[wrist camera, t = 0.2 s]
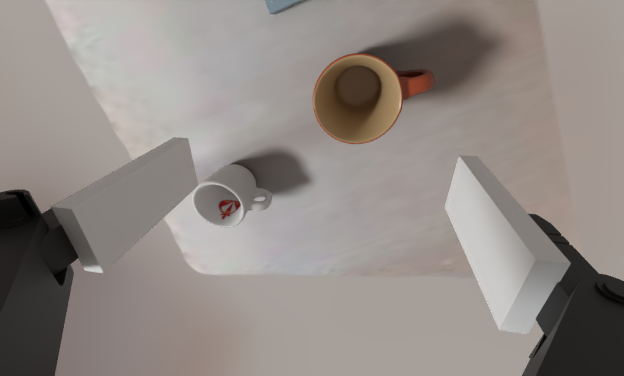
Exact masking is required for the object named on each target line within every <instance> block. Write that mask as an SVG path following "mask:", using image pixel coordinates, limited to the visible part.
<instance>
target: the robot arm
mask: <svg viewBox="0 0 624 376" xmlns="http://www.w3.org/2000/svg"><path fill="white" fill-rule="evenodd" d="M197 186H198V181H197V177H196V172H195V168H194V163H193V159H192V154H191V150H190V145H189V141H188V138H175V137H174V138H172V139H171V140H169V141H167V142H165V143H164V144H162V145H160V146H158V147H156V148H155V149H153V150H151V151H149V152H147V153H146V154H144V155H142V156H140V157H139V158H137V159H135V160H133V161H131V162H130V163H128V164H126V165H124V166H122V167H121V168H119V169H117V170H115V171H114V172H112V173H110V174H108V175H106V176H105V177H103V178H101V179H99V180H98V181H96V182H94V183H92V184H90V185H89V186H87V187H85V188H83V189H81V190H80V191H78V192H76V193H74V194H73V195H71V196H69V197H67V198H65V199H64V200H62V201H60V202H58V203H57V204H55V205H53V206H51V209H49V210H48V211H46V212H45V213H42V214H41V212H40V210H39V208H38V207H37V205H36V203H35V201H34V200H33V198H32V196H31V194H30V193H29V191H27V190H10V191H5V192H1V193H0V376H55V370H56V365H57V360H58V355H59V349H60V344H61V339H62V333H63V328H64V322H65V316H66V312H67V307H68V301H69V296H70V290H71V285H72V280H73V275H74V272H73V269H72V267H71V265H70V264H71V263H72V262H74V261H75V260H76V259H77V258H79V260H80V262H81V264H82V266H83V267H84V269H85V270H86V271H92V272H99V273H104V272H105V271H107V270H108V269H109V268H110V267H111V266H112V265H113V264H114V263H115V262H116V261H117V260H118V259H119V258H120V257H122V256H123V255H124V254H125V253H126V252H127V251H128V250H129V249H130V248H131V247H132V246H133V245H134V244H136V243H137V242H138V241H139V240H140V239H141V238H142V237H143V236H144V235H145V234H146V233H148V232H149V231H150V230H151V229H152V228H153V227H154V226H155V225H156V224H157V223H158V222H159V221H160V220H162V219H163V218H164V217H165V216H166V215H167V214H168V213H169V212H170V211H171V210H172V209H173V208H175V207H176V206H177V205H178V204H179V203H180V202H181V201H182V200H183V199H184V198H185V197H186V196H187V195H189V194H190V193H191V192H192V191H193V190H194V189H195V188H196V187H197ZM445 209H446V211H447V213H448V216H449V218H450V220H451V222H452V225H453V227H454V229H455V231H456V234H457V236H458V238H459V241H460V243H461V245H462V247H463V250H464V252H465V254H466V256H467V259H468V261H469V263H470V265H471V268H472V270H473V272H474V274H475V277H476V279H477V281H478V283H479V286H480V288H481V290H482V292H483V295H484V297H485V299H486V301H487V304H488V306H489V308H490V311H491V313H492V315H493V317H494V319H495V322H496V324H497V326H498V329H499V330H502V331H509V332H517V333H523V334H528V333H529V331H530V330H531V328H532V327H533V325H534V323H535V322H536V320H537V322H538V324H539V325H540V327H541V329H542V331H543V332H544V334H543V336H542V338H541V339H540V341H539V342H538V344H537V345H536V347H535V348H534V350H533V352H532V353H531V354H530V356H529V358H531V359H530V361H529V363H528V365H527V367H526V369H525V371H524V373H523V375H522V376H624V281H622V280H620V279H617V278H614V277H611V276H608V275H603V274H599V273H598V272H597V271H596V270H595V269H594V268H593V267H592V266H591V265H590V264H589V263H588V262H587V261H586V260H585V259H584V258H583V257H582V256H581V254H580V253H579V252H578V251H577V250H576V249H575V248H574V247H573V246H572V245H569V242H568V241H567V240H566V239H565V238H564V237H563V236H561V233H560V232H559V231H558V230H557V229H556V228H555V227H554V226H553V225H552V224H551V223H549V222H548V221H546V220H544V219H543V218H541V217H540V216H538V215H536V214H527V212H526V211H525V210H524V209H523V208H522V207H521V206H520V204H519V203H518V202H517V201H516V200H515V199H514V198H513V197H512V195H511V194H510V193H509V192H508V191H507V190H506V189H505V187H504V186H503V185H502V184H501V183H500V182H499V181H498V179H497V178H496V177H495V176H494V175H493V174H492V173H491V171H490V170H489V169H488V168H487V167H486V166H485V165H484V163H483V162H482V161H481V160H480V159H479V158H478V157H476V156H460V155H459V158H458V161H457V165H456V168H455V172H454V176H453V179H452V183H451V186H450V190H449V194H448V197H447V201H446V204H445Z"/></svg>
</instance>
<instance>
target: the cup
mask: <svg viewBox="0 0 624 376" xmlns="http://www.w3.org/2000/svg"><path fill="white" fill-rule="evenodd" d="M261 196H262V197H266V199H265V200H264V201H254V199H255V198H256V197H261ZM192 201H193V205H194V208H195V210H196V211H197V213H198V214H199V215H200V216H201V217H202V218H203V219H204V220H205V221H207V222H208V223H210V224H212V225H214V226H218V227H223V228H228V227H233V226H236V225H238V224H239V223H240V222H241V221H242V220H243V219H244V217H245V215H246V213H247V211H248V210H254V211H261V210H265V209H266V208H268V207H269V205H270V204H271V201H272V195H271V192H270V191H269V190H266V189H262V188H257V187H256V181H255V178H254V176H253V174H252V173H251V172H250V171H249V170H248V169H247V168H245V167H243V166H240V165H236V164H232V165H227V166H224V167H223V168H221V169H219V170H218V171H217V172H215V173H214V174H212V175H211V176H210V177H208V178H207V179H205V180H204V181H203V182H201V183H200V184H199V185H198V186H197V187H196V188H195V190H194V192H193V196H192Z"/></svg>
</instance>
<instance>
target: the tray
mask: <svg viewBox="0 0 624 376" xmlns="http://www.w3.org/2000/svg"><path fill="white" fill-rule="evenodd" d="M303 1H305V0H265V2H266V4H267V7H268V10H269V13H270V14H277V13H279V12H281V11H283V10H285V9H288V8H290V7H292V6H294V5H296V4H299V3H301V2H303Z"/></svg>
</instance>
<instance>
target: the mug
mask: <svg viewBox="0 0 624 376" xmlns="http://www.w3.org/2000/svg"><path fill="white" fill-rule="evenodd" d="M433 85H434V75H433V73H432V72H431V71H429V70H426V69H417V70H409V71H395V70H394V69H393V68H392V67H391V66H390V65H389V64H388V63H386V62H385V61H384V60H382V59H380V58H378V57H376V56H373V55H370V54H364V53H355V54H349V55H346V56H343V57H341V58H338V59H337V60H335V61H333V62H332V63H331V64H330V65H328V66H327V67H326V68H325V70H324V71H323V72H322V73H321V75H320V76H319V78H318V80H317V82H316V85H315V88H314V93H313V108H314V113H315V116H316V118H317V121H318V122H319V124H320V126H321V127H322V128H323V129H324V131H325V132H326V133H328V134H329V135H330V136H331V137H333V138H335V139H337V140H339V141H341V142H345V143H350V144H362V143H367V142H370V141H373V140H375V139H377V138H379V137H381V136H382V135H384V134H385V133H386V132H387V131H388V130H389V129H390V128H391V127H392V126H393V124H394V123H395V121H396V120H397V118H398V116H399V114H400V112H401V109H402V103H403V100H405V99H407V98H409V97H411V96H413V95H415V94H419V93H422V92H425V91H428V90H430V89H431V88H432V87H433Z"/></svg>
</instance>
